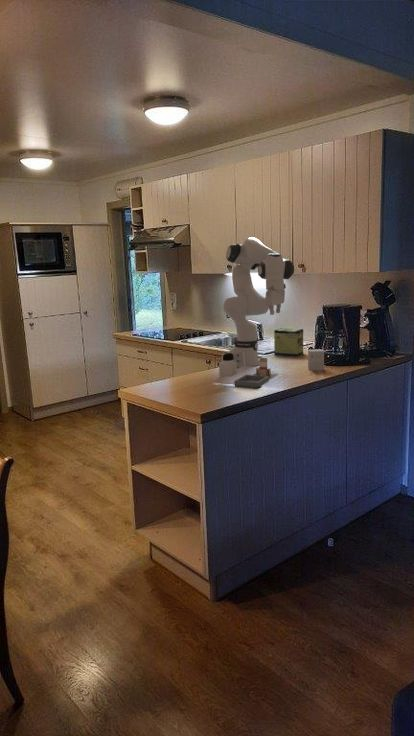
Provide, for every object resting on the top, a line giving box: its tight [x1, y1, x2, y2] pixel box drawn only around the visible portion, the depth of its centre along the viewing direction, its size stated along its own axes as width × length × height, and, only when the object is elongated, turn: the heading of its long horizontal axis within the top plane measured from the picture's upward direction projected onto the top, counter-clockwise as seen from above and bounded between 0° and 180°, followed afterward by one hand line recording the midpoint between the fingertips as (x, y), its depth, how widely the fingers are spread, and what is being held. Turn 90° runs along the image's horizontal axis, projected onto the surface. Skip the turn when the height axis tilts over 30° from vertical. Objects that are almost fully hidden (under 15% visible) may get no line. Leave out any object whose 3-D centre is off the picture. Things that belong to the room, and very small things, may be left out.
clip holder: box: [253, 367, 279, 380], centre depth 265 cm, size 12×12×5 cm
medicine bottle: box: [218, 352, 238, 378], centre depth 272 cm, size 7×7×12 cm
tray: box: [234, 374, 269, 390], centre depth 253 cm, size 12×14×3 cm
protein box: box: [273, 327, 304, 357], centre depth 324 cm, size 10×16×16 cm
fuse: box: [258, 357, 268, 376], centre depth 265 cm, size 4×4×9 cm
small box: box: [307, 348, 325, 371], centre depth 280 cm, size 8×6×10 cm
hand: (275, 313), depth 265 cm, fingers open, 8 cm apart
